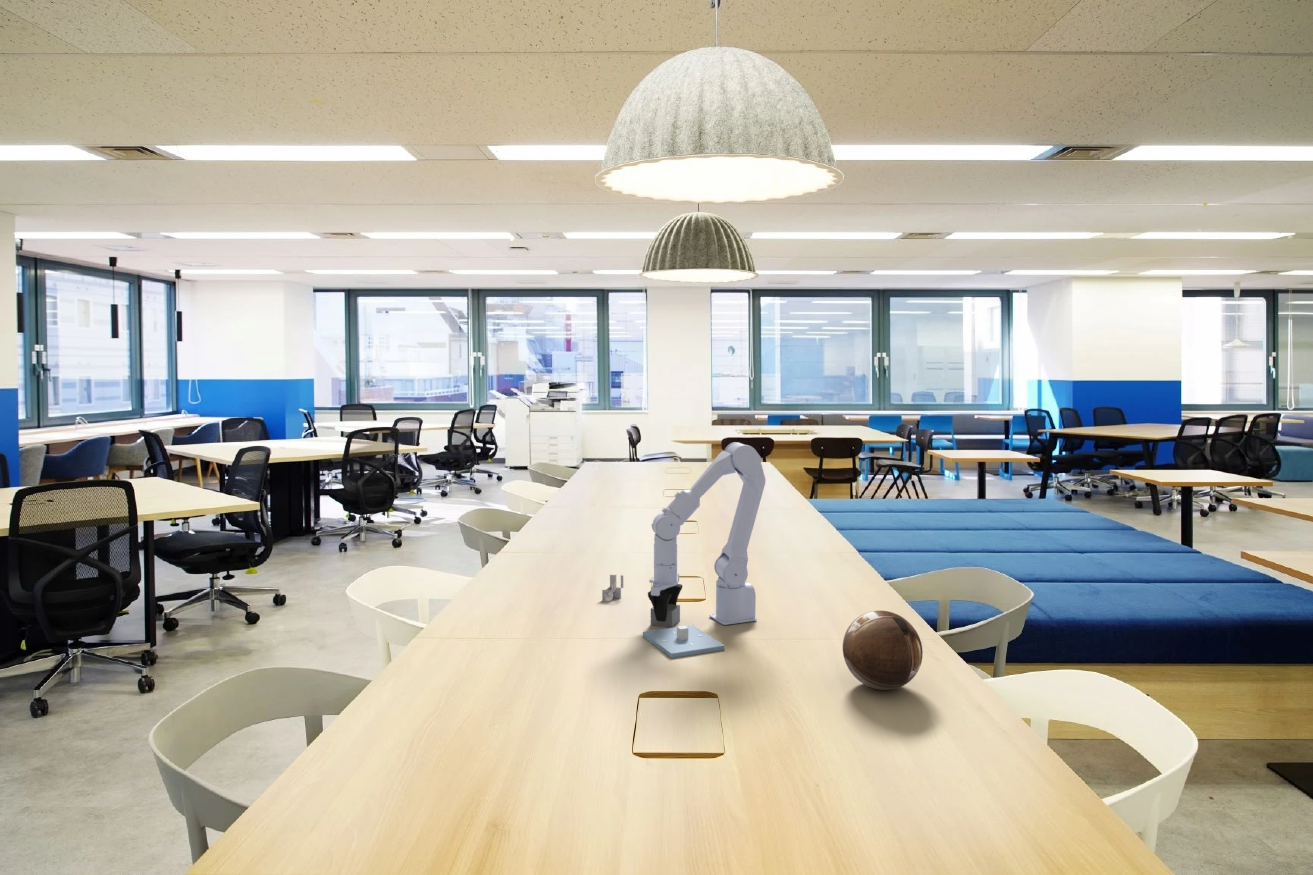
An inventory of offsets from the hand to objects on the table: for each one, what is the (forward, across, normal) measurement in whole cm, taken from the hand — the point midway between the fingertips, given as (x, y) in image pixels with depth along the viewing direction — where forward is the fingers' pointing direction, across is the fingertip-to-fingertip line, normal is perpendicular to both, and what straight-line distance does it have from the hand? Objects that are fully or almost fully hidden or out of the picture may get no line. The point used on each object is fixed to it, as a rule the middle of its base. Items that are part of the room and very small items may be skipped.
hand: (665, 617), depth 198 cm
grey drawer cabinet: (+1, 0, 0) cm, 1 cm away
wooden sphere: (+2, +23, +54) cm, 58 cm away
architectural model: (+2, -12, -16) cm, 20 cm away
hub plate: (+1, +12, +9) cm, 15 cm away
